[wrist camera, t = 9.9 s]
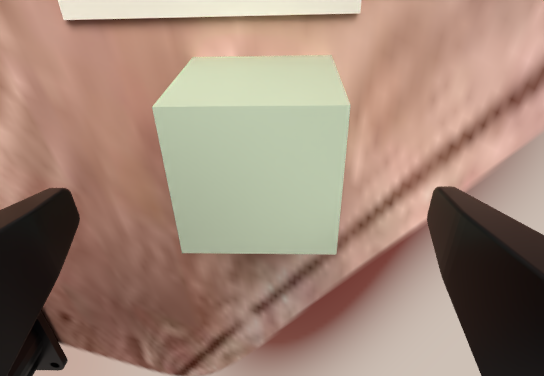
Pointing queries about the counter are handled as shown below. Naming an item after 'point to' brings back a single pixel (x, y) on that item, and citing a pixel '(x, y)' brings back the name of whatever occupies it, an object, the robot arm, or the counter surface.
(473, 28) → the counter surface
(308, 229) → the block
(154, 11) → the letter
